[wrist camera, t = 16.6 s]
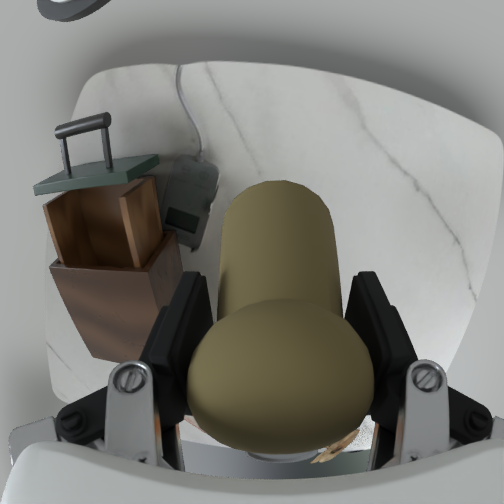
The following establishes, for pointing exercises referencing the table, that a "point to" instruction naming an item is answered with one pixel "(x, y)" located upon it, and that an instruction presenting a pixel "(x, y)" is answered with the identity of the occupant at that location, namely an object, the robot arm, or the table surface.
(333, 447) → the dried bracket fungus
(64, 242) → the drawer
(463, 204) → the table surface
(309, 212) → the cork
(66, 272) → the cabinet
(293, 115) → the table surface
